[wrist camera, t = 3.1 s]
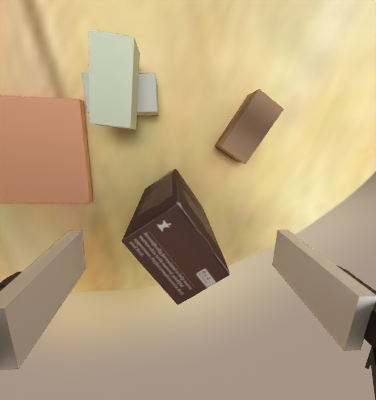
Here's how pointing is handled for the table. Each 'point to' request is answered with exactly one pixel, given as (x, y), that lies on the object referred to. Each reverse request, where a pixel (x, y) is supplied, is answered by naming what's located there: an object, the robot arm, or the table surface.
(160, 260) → the box
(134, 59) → the pale green brick
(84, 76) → the grey brick
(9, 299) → the robot arm
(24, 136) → the tile
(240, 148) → the walnut brick
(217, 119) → the table surface
